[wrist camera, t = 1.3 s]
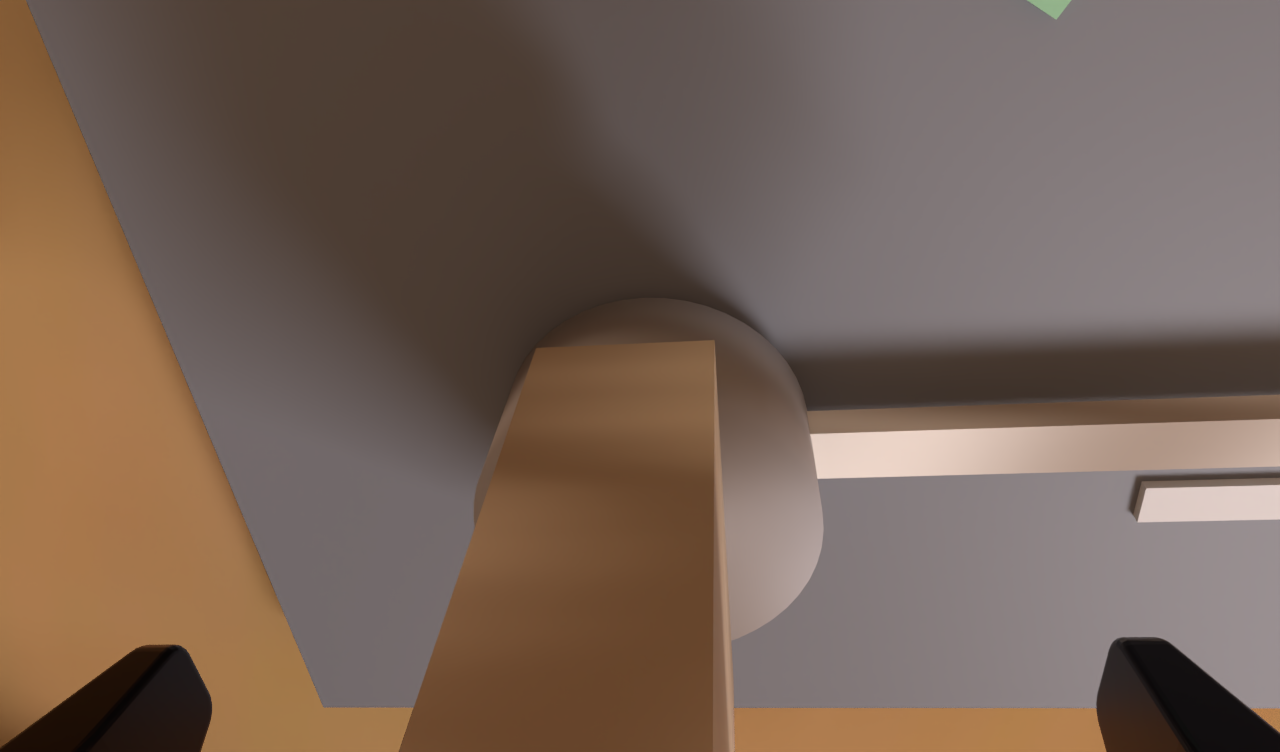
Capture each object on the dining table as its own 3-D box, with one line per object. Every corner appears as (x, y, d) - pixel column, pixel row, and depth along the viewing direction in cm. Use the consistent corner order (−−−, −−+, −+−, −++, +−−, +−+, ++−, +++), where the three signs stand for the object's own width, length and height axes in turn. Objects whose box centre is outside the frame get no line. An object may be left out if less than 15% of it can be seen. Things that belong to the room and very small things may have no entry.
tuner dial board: (352, 642, 17) (320, 714, 16) (-244, -952, 7) (-464, -1129, 6) (1297, 635, 15) (1354, 716, 14) (2192, -1512, 6) (2683, -1953, 4)
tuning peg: (537, 572, 13) (398, 1163, 8) (475, 269, 11) (185, 812, 5) (1365, 557, 12) (1973, 1255, 6) (1518, 212, 10) (2813, 848, 4)
